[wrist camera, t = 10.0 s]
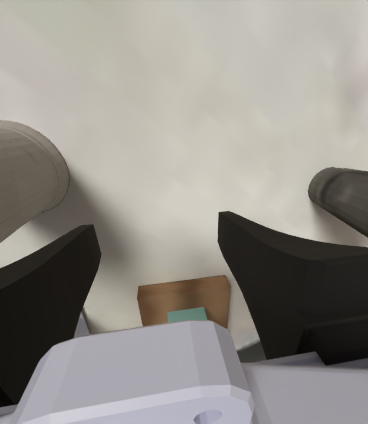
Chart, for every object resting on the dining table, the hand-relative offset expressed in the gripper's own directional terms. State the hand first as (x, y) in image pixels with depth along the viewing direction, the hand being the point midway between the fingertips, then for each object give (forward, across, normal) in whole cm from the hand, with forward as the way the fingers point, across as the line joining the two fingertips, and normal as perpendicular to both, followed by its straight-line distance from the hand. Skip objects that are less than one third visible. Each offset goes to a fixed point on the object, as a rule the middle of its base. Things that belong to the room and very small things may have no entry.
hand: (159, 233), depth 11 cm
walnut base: (+10, -2, +20) cm, 23 cm away
